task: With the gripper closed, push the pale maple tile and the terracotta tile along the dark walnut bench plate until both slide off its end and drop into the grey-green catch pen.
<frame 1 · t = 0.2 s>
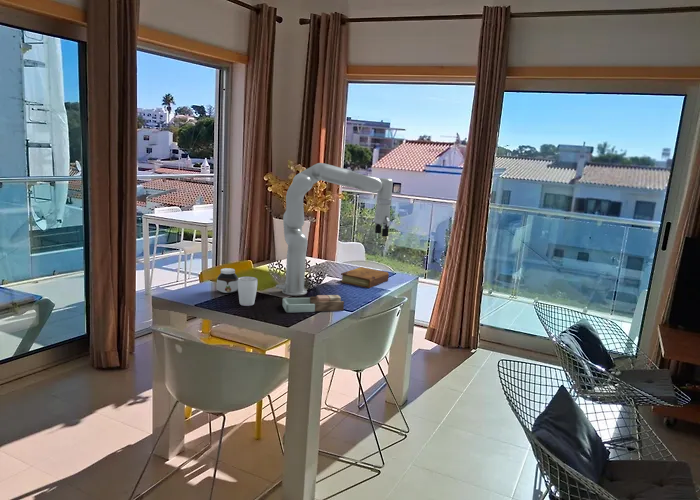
hand: (381, 234, 281), 31 cm above the table, tool pointing down, fingers open, 9 cm apart
spread jar: (230, 292, 267), on the table
diary: (364, 282, 307), on the table
bench plate: (326, 307, 252), on the table
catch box: (298, 308, 248), on the table
terracotta tile: (322, 301, 250), point 3 cm above the table, touching bench plate
cup: (246, 304, 249), on the table
maple tile: (334, 301, 252), point 3 cm above the table, touching bench plate
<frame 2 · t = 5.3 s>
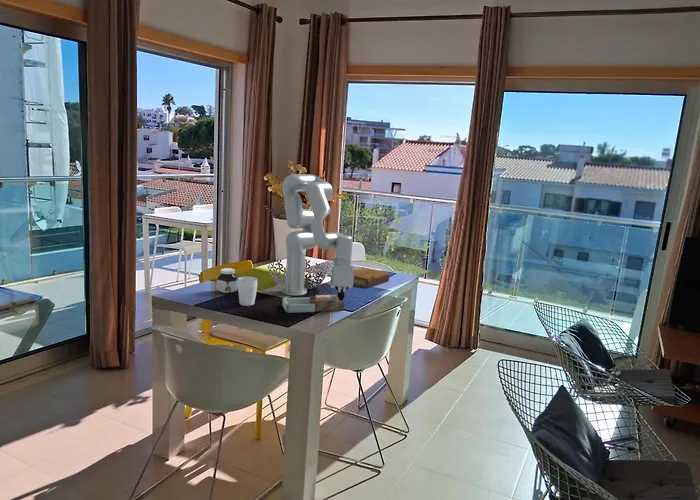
hand: (340, 299, 253), 4 cm above the table, tool pointing down, fingers closed
terracotta tile: (321, 301, 250), point 3 cm above the table, touching maple tile
maple tile: (331, 301, 252), point 3 cm above the table, touching gripper, terracotta tile
everything else where it was.
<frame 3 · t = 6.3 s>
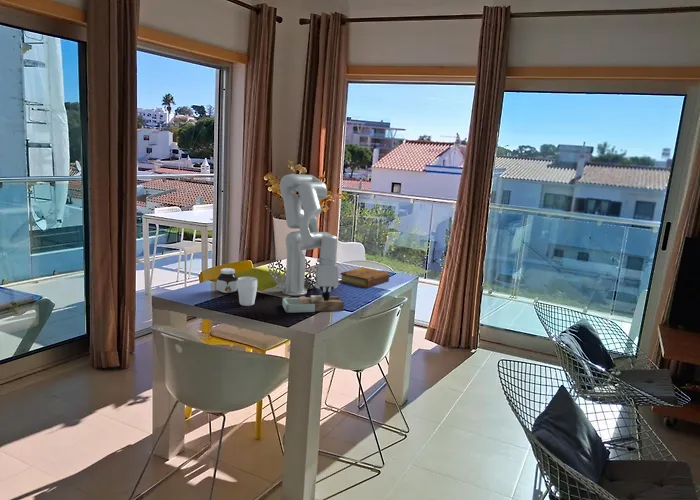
hand: (325, 299, 251), 4 cm above the table, tool pointing down, fingers closed
terracotta tile: (306, 302, 248), point 3 cm above the table, tilted 100°
maple tile: (316, 302, 249), point 3 cm above the table, touching gripper
everything else where it was.
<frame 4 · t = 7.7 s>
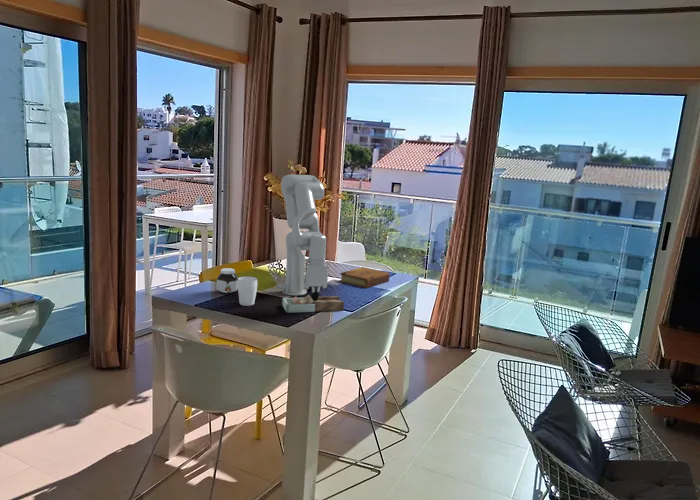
hand: (314, 300, 249), 4 cm above the table, tool pointing down, fingers closed
terracotta tile: (300, 301, 247), point 3 cm above the table, tilted 128°, touching maple tile
maple tile: (308, 303, 248), point 3 cm above the table, tilted 38°, touching gripper, terracotta tile
everything else where it was.
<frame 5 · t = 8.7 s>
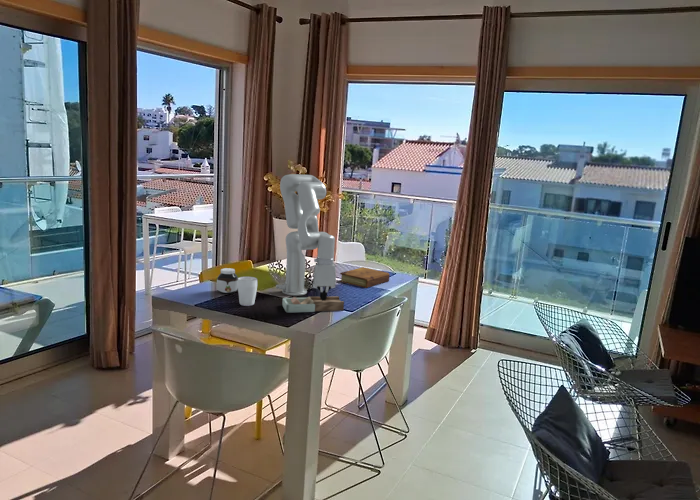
hand: (323, 299, 250), 4 cm above the table, tool pointing down, fingers closed
terracotta tile: (299, 301, 247), point 3 cm above the table, tilted 133°
maple tile: (309, 305, 248), point 2 cm above the table, tilted 41°, touching bench plate
everything else where it was.
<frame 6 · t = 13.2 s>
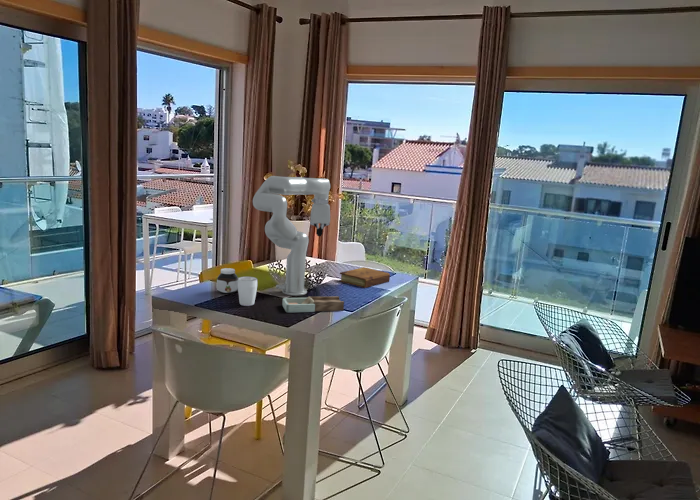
hand: (319, 235, 287), 27 cm above the table, tool pointing down, fingers closed
terracotta tile: (292, 304, 246), point 2 cm above the table, tilted 180°
maple tile: (310, 304, 248), point 2 cm above the table, tilted 47°, touching bench plate
at the end: maple tile point 1.8 cm above the table; terracotta tile point 2.2 cm above the table; maple tile 5.4 cm from the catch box (horizontally) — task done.
